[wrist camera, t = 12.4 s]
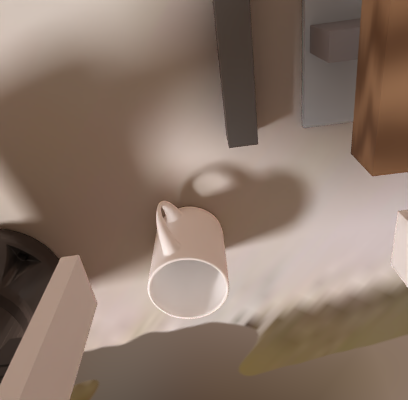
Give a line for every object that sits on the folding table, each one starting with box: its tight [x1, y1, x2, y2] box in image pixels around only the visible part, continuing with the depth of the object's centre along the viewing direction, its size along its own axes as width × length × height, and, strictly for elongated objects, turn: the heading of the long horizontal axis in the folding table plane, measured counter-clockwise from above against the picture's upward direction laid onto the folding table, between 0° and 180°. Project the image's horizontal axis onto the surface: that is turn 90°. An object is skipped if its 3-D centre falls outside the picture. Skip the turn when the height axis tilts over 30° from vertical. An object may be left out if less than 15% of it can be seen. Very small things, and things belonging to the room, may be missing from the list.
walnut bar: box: [351, 0, 408, 176], centre depth 29 cm, size 20×4×5 cm, turn 7°
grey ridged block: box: [302, 0, 362, 128], centre depth 34 cm, size 10×18×7 cm, turn 7°
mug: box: [148, 201, 229, 319], centre depth 43 cm, size 9×12×11 cm
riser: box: [213, 0, 258, 148], centre depth 36 cm, size 3×18×4 cm, turn 7°
